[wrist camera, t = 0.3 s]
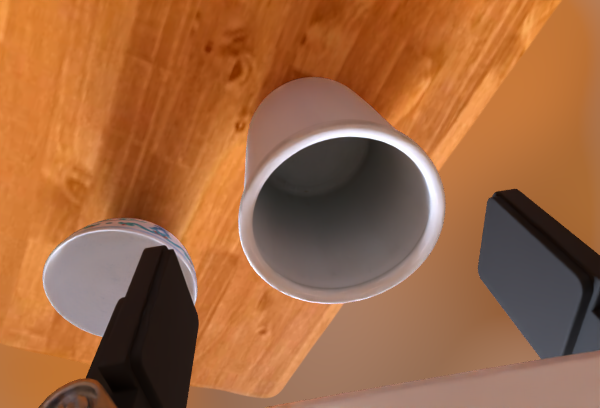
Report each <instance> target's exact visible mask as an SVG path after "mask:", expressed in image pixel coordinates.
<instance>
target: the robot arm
mask: <svg viewBox="0 0 600 408" xmlns="http://www.w3.org/2000/svg"><path fill="white" fill-rule="evenodd" d="M478 264H479V265H478V273H479V276H480V278H481V280H482V281H483V282H484V284H485V285H486V286H487V288H488V289H489V290H490V292H491V293H492V294H493V296H494V297H495V298H496V300H497V301H498V302H499V304H500V305H501V306H502V308H503V309H504V310H505V311H506V313H507V314H508V316H509V317H510V318H511V320H512V321H513V322H514V323H515V325H516V326H517V328H518V329H519V330H520V331H521V333H522V334H523V335H524V337H525V338H526V339H527V340H528V342H529V343H530V345H531V346H532V347H533V349H534V350H535V351H536V353H537V354H538V355H539V357H540V358H541V359H540V360H534V361H528V362H522V363H516V364H510V365H504V366H498V367H492V368H486V369H480V370H475V371H469V372H463V373H457V374H451V375H445V376H440V377H434V378H428V379H422V380H416V381H410V382H405V383H400V384H394V385H388V386H382V387H376V388H370V389H364V390H359V391H353V392H348V393H342V394H336V395H330V396H325V397H320V398H314V399H309V400H303V401H297V402H292V403H286V404H280V405H275V406H269V407H264V408H600V255H598V254H597V253H596V252H595V251H594V250H592V249H591V248H590V247H589V246H587V245H586V244H585V243H584V242H582V241H581V240H580V239H579V238H577V237H576V236H575V235H574V234H572V233H571V232H570V231H569V230H567V229H566V228H565V227H564V226H562V225H561V224H560V223H559V222H558V221H556V220H555V219H554V218H553V217H551V216H550V215H549V214H548V213H546V212H545V211H544V210H543V209H541V208H540V207H539V206H538V205H536V204H535V203H534V202H533V201H531V200H530V199H529V198H528V197H526V196H525V195H524V194H523V193H522V192H520V191H519V190H517V189H511V190H505V191H498V192H495V193H494V194H493V196H492V197H491V198H489V199H488V201H487V207H486V214H485V222H484V229H483V235H482V243H481V249H480V256H479V263H478ZM198 325H199V321H198V315H197V312H196V309H195V306H194V303H193V301H192V298H191V295H190V292H189V289H188V287H187V284H186V281H185V278H184V275H183V272H182V270H181V267H180V264H179V261H178V258H177V256H176V253H175V251H174V249H168V248H167V246H165V245H161V246H155V247H149V248H145V249H144V250H143V252H142V255H141V258H140V260H139V263H138V265H137V268H136V270H135V273H134V275H133V278H132V280H131V283H130V285H129V288H128V290H127V293H126V295H125V297H122V298H121V299H119V300H118V302H117V304H116V306H115V309H114V311H113V313H112V316H111V318H110V321H109V323H108V325H107V328H106V330H105V333H104V335H103V338H102V340H101V342H100V345H99V347H98V350H97V352H96V355H95V357H94V359H93V362H92V364H91V367H90V369H89V372H88V374H87V376H86V379H78V380H75V381H72V382H69V383H67V384H65V385H64V386H62V387H60V388H59V389H57V390H56V391H55V392H53V393H52V394H51V395H50V396H48V397H47V398H46V400H45V401H44V402H43V403H42V404H41V405H40V406H39V408H186V405H187V398H188V392H189V385H190V379H191V372H192V366H193V359H194V353H195V346H196V339H197V333H198Z"/></svg>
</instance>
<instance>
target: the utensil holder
mask: <svg viewBox="0 0 600 408" xmlns="http://www.w3.org/2000/svg"><path fill="white" fill-rule="evenodd" d="M444 217H445V194H444V188H443V184H442V181H441V178H440V176H439V173H438V171H437V169H436V167H435V166H434V164H433V162H432V161H431V159H430V158H429V157H428V155H427V154H426V153H425V152H424V151H423V149H422V148H421V147H420V146H419V145H418V144H417V143H415V142H414V141H413V140H412V139H411V138H409V137H408V136H406V135H405V134H403V133H401V132H400V131H398V130H396V129H395V128H394V127H393V126H392V125H391V124H389V123H388V122H387V121H386V120H385V119H384V118H383V117H382V116H381V115H380V114H379V113H378V112H377V111H376V110H375V109H373V108H372V107H371V106H370V105H369V104H368V103H367V102H366V101H364V100H363V99H362V98H361V97H360V96H358V95H357V94H356V93H355V92H354V91H352V90H351V89H350V88H348V87H347V86H345V85H343V84H341V83H339V82H337V81H334V80H331V79H327V78H321V77H306V78H300V79H296V80H293V81H290V82H287V83H285V84H284V85H282V86H280V87H278V88H276V89H275V90H274V91H272V92H271V93H270V94H269V95H268V96H267V97H266V98H265V99H264V100H263V101H262V102H261V104H260V105H259V106H258V108H257V109H256V111H255V113H254V115H253V117H252V119H251V122H250V126H249V130H248V137H247V146H246V164H245V182H244V191H243V194H242V198H241V202H240V208H239V220H238V223H239V235H240V241H241V245H242V248H243V250H244V253H245V255H246V257H247V259H248V261H249V263H250V264H251V266H252V267H253V268H254V270H255V271H256V272H257V274H258V275H259V276H260V277H261V278H262V279H263V280H265V281H266V282H267V283H268V284H269V285H271V286H272V287H274V288H275V289H277V290H279V291H280V292H282V293H284V294H286V295H288V296H291V297H294V298H296V299H299V300H303V301H308V302H314V303H324V304H338V303H348V302H355V301H359V300H363V299H366V298H370V297H372V296H375V295H378V294H381V293H383V292H385V291H387V290H388V289H390V288H392V287H394V286H396V285H397V284H399V283H400V282H402V281H403V280H405V279H406V278H407V277H408V276H410V275H411V274H412V273H413V272H414V271H415V270H416V269H417V268H418V267H419V266H420V265H421V264H422V263H423V262H424V261H425V260H426V258H427V257H428V256H429V254H430V253H431V251H432V249H433V248H434V246H435V244H436V242H437V240H438V238H439V236H440V233H441V230H442V227H443V223H444Z"/></svg>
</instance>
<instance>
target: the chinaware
mask: <svg viewBox="0 0 600 408" xmlns="http://www.w3.org/2000/svg"><path fill="white" fill-rule="evenodd" d="M161 245H165V246H167V248H168V249H174V251H175V253H176V256H177V258H178V261H179V264H180V267H181V270H182V272H183V275H184V278H185V281H186V284H187V287H188V289H189V292H190V295H191V298H192V301H193V303H194V305H195V302H196V298H197V279H196V273H195V269H194V266H193V263H192V260H191V258H190V256H189V254H188V252H187V251H186V249H185V247H184V246H183V245H182V244H181V242H180V241H179V240H178V239H177V238H176V237H175V236H174V235H173V234H171V233H170V232H169V231H167V230H166V229H164V228H162V227H161V226H159V225H156V224H154V223H151V222H149V221H145V220H141V219H135V218H113V219H107V220H103V221H99V222H96V223H93V224H91V225H88V226H86V227H84V228H82V229H80V230H78V231H77V232H75V233H73V234H72V235H70V236H69V237H68V238H66V239H65V240H64V241H63V242H61V243H60V244H59V245H58V246H57V247H56V248H55V249H54V250H53V251H52V253H51V254H50V255H49V257H48V259H47V261H46V263H45V266H44V270H43V286H44V290H45V293H46V295H47V297H48V299H49V301H50V303H51V304H52V306H53V307H54V308H55V309H56V310H57V312H58V313H59V314H60V315H61V316H63V317H64V318H65V319H66V320H68V321H69V322H70V323H72V324H73V325H75V326H77V327H78V328H80V329H82V330H85V331H87V332H89V333H92V334H95V335H98V336H101V337H103V335H104V333H105V330H106V328H107V325H108V323H109V321H110V318H111V316H112V313H113V311H114V309H115V306H116V304H117V302H118V300H119V299H121V298H122V297H125V295H126V293H127V290H128V288H129V285H130V283H131V280H132V278H133V275H134V273H135V270H136V268H137V265H138V263H139V260H140V258H141V255H142V252H143V250H144V249H145V248H149V247H155V246H161Z"/></svg>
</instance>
